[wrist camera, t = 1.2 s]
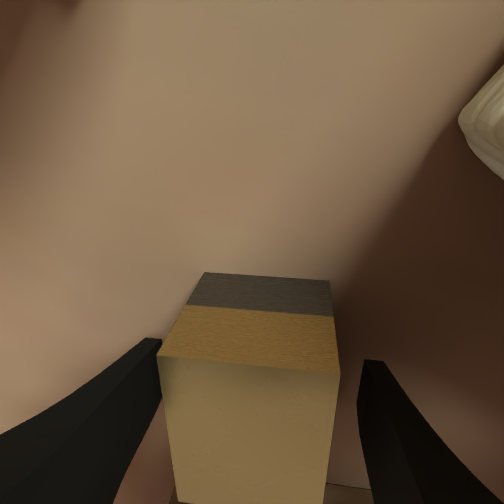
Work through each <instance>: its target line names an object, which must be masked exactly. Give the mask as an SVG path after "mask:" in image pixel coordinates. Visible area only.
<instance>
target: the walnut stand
mask: <svg viewBox="0 0 504 504" xmlns="http://www.w3.org/2000/svg"><path fill="white" fill-rule="evenodd" d="M169 504H191V503H185V502H179V501H178V497H177V491H176V485H175V487H174V490H173V493H172V496H171V499H170V502H169ZM323 504H374V501H373V496H372V491H371V490H367V489H360V488H353V487H346V486H340V485H333V484H326V483H325V490H324V498H323Z"/></svg>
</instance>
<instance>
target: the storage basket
mask: <svg viewBox="0 0 504 504" xmlns="http://www.w3.org/2000/svg"><path fill="white" fill-rule="evenodd" d="M458 123H459V126H460V128H461V130H462V131H463V133H464V135H465V138H466V141H467V143H468V145H469V147H470V148H471V149H472V151H473V152H474V154H475V155H476V156H477V157H478V158H479V159H480V160H482V161H483V162H484V163H485V164H486V165H487V166H488V167H489V168H490V169H491V170H492V171H493V172H494V173H496V174H497V175H498V176H499V177H501V178H502V179H503V180H504V65H503V66H502V67H501V68H500V69H499V70H498V71H497V72H496V73H495V74H494V75H493V77H492V78H491V79H490V80H489V81H488V82H487V83H486V84H485V85H484V86H483V87H482V88H481V89H480V90H479V92H478V93H477V94H476V95H475V96H474V97H473V99H472V100H471V101H470V102H469V103H468V104H467V105H466V106H465V107H464V108H463V109H462V111H461V113H460V115H459V117H458Z"/></svg>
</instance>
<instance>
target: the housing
mask: <svg viewBox="0 0 504 504" xmlns="http://www.w3.org/2000/svg"><path fill="white" fill-rule="evenodd" d="M156 357H157V364H158V370H159V377H160V384H161V390H162V397H163V404H164V410H165V417H166V424H167V430H168V437H169V444H170V451H171V457H172V464H173V471H174V477H175V484H176V491H177V497H178V501H179V502H185V503H191V504H323V498H324V490H325V483H326V476H327V469H328V461H329V454H330V447H331V440H332V432H333V425H334V418H335V411H336V403H337V396H338V389H339V382H340V366H339V357H338V349H337V341H336V333H335V325H334V317H333V308H332V300H331V292H330V284H329V281H327V280H312V279H297V278H283V277H268V276H253V275H239V274H224V273H209V272H204V274H203V276H202V277H201V279H200V281H199V283H198V284H197V286H196V288H195V290H194V291H193V293H192V295H191V296H190V298H189V300H188V302H187V303H186V305H185V307H184V308H183V310H182V312H181V314H180V315H179V317H178V319H177V320H176V322H175V324H174V326H173V327H172V329H171V331H170V332H169V334H168V336H167V338H166V339H165V341H164V343H163V344H162V346H161V348H160V350H159V351H158V353H157V355H156Z"/></svg>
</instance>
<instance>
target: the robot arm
mask: <svg viewBox="0 0 504 504" xmlns="http://www.w3.org/2000/svg"><path fill="white" fill-rule="evenodd" d="M161 346H162V339H154V338H145V339H143V340H142V341H141V342H139V343H138V344H137V345H136V346H134V347H133V348H132V349H131V350H129V351H128V352H127V353H126V354H124V355H123V356H122V357H120V358H119V359H118V360H117V361H115V362H114V363H113V364H111V365H110V366H109V367H108V368H106V369H105V370H104V371H102V372H101V373H100V374H98V375H97V376H96V377H94V378H93V379H91V380H90V381H89V382H87V383H86V384H84V385H83V386H81V387H80V388H79V389H77V390H76V391H74V392H73V393H72V394H70V395H69V396H67V397H66V398H64V399H62V400H61V401H59V402H58V403H56V404H54V405H53V406H51V407H49V408H48V409H46V410H45V411H43V412H41V413H40V414H38V415H36V416H34V417H32V418H31V419H29V420H27V421H25V422H23V423H21V424H19V425H18V426H16V427H14V428H12V429H10V430H8V431H6V432H4V433H3V434H1V435H0V504H113V502H114V499H115V497H116V494H117V492H118V489H119V487H120V484H121V482H122V480H123V477H124V475H125V473H126V471H127V469H128V467H129V465H130V463H131V461H132V459H133V457H134V455H135V453H136V451H137V449H138V447H139V445H140V443H141V441H142V439H143V437H144V435H145V433H146V431H147V429H148V427H149V425H150V423H151V421H152V419H153V417H154V415H155V413H156V411H157V409H158V406H159V403H160V401H161V398H162V390H161V384H160V377H159V370H158V364H157V357H156V355H157V353H158V351H159V350H160V348H161ZM357 415H358V425H359V434H360V439H361V444H362V449H363V454H364V458H365V463H366V468H367V473H368V477H369V482H370V487H371V491H372V496H373V501H374V504H504V503H503V502H501V501H500V500H499V499H498V498H497V497H496V496H495V495H494V494H493V493H492V492H491V491H490V490H489V489H487V488H486V487H485V486H484V485H483V484H482V483H481V482H480V481H479V480H478V479H477V478H476V477H475V476H474V475H473V474H472V473H471V471H470V470H469V469H468V468H467V467H466V466H465V465H464V464H463V463H462V462H461V461H460V460H459V459H458V458H457V457H456V455H455V454H454V453H453V452H452V451H451V450H450V449H449V448H448V446H447V445H446V444H445V443H444V442H443V441H442V439H441V438H440V437H439V436H438V435H437V433H436V432H435V431H434V430H433V429H432V427H431V426H430V425H429V424H428V422H427V421H426V420H425V419H424V417H423V416H422V415H421V413H420V412H419V411H418V409H417V408H416V407H415V405H414V404H413V403H412V402H411V400H410V399H409V397H408V396H407V395H406V393H405V392H404V390H403V389H402V388H401V386H400V385H399V383H398V382H397V380H396V379H395V377H394V376H393V374H392V373H391V371H390V370H389V368H388V367H387V365H386V364H385V363H384V362H383V361H377V360H367V359H364V364H363V369H362V375H361V381H360V386H359V392H358V398H357Z"/></svg>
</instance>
